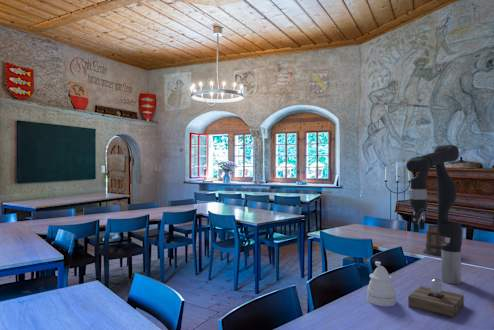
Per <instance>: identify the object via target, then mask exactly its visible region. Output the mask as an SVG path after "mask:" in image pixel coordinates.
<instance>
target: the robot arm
mask: <svg viewBox="0 0 494 330" xmlns="http://www.w3.org/2000/svg"><path fill="white" fill-rule="evenodd" d="M459 156H460V151H459V148H458V146H456V145H454V144H446V145H445V144H444V145H436V146H435V147H434V150H433V152H430V153H429V152H428V153H426V154H424V155H421V156H416V157H411V158H409V159H408V160H407V161H406V163H405V167H406V169H407V170H408V172H410V173H418V175H417V176H414V177H411V178H410V192H409V194H410V195H409V198H410V201H409V203H410V208H413V209H414V210H412V211H411V224H413V232H415V233H419V232H420V230H423V231H424V230H425V228H426V227H425V222H426V221H427V209H426V208H428V192H427V179H428V176H429V171H430V169H431V168H432V167H435V171H436V172H435V173H436V174H435V175H436V193H437V194H436V196H437V224H436V225H437V229H438V233H439V235H440V236H443V237H445V238H449V242H447V243H444V244H442V245H441V255H442V256H441V282H445V283H448V284H453V285H459V284H462V254H461V253H462V252H461V251H462V249H461V248H462V244H463V227H462V224H461V223H460V222H458V221H452V220H449V212H450V210H451V208H452V206H453V205H454V203H455V201H456V199H457V185H456V183H455V181H454V179H453V178H452V177H451V176H450V175H449V172H447V170H446V167H445V163H451V162H455V161H457V160H458V158H459Z"/></svg>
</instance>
